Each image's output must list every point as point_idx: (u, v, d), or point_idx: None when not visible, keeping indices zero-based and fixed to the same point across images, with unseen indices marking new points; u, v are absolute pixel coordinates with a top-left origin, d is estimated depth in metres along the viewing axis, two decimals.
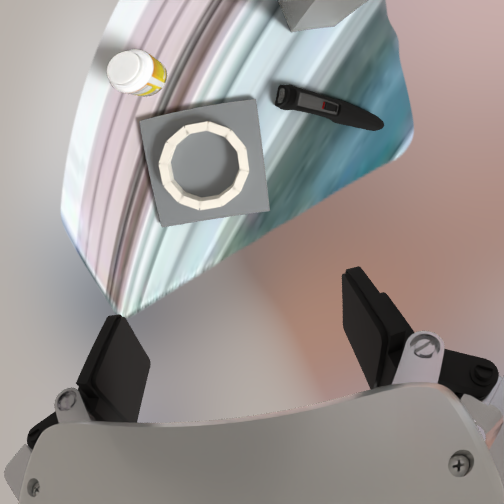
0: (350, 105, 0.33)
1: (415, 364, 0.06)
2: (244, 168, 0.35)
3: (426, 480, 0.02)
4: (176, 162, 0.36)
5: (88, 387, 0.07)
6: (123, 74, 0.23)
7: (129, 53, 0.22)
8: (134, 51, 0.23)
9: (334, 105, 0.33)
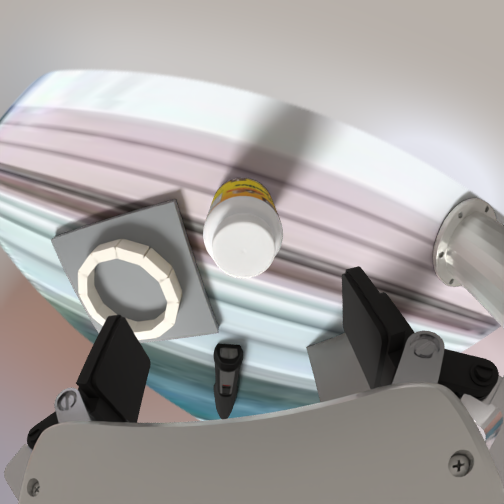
0: (233, 398, 0.37)
1: (415, 364, 0.06)
2: (136, 336, 0.29)
3: (426, 480, 0.02)
4: None
5: (88, 387, 0.07)
6: (229, 254, 0.17)
7: (269, 260, 0.18)
8: (276, 244, 0.19)
9: (228, 392, 0.35)
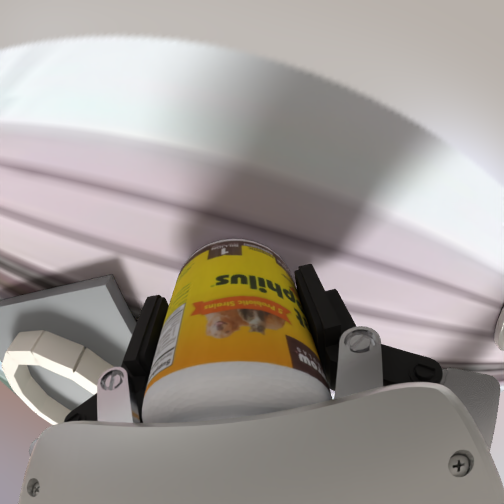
0: None
1: (354, 360, 0.07)
2: None
3: (426, 480, 0.02)
4: None
5: (136, 364, 0.08)
6: None
7: None
8: None
9: None
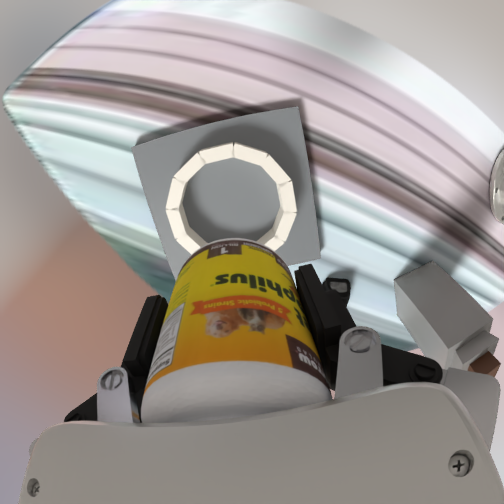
0: None
1: (354, 360, 0.07)
2: None
3: (426, 480, 0.02)
4: (232, 163, 0.25)
5: (136, 364, 0.08)
6: None
7: None
8: None
9: None
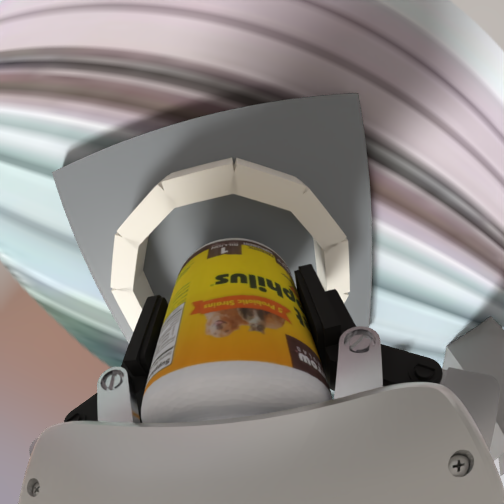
0: None
1: (354, 360, 0.07)
2: None
3: (426, 480, 0.02)
4: (232, 200, 0.13)
5: (136, 364, 0.08)
6: None
7: None
8: None
9: None
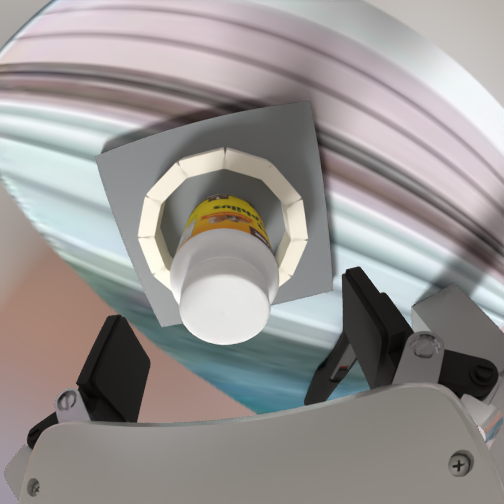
0: None
1: (415, 364, 0.06)
2: None
3: (426, 480, 0.02)
4: (223, 175, 0.19)
5: (88, 387, 0.07)
6: (204, 318, 0.12)
7: (261, 323, 0.12)
8: (271, 294, 0.14)
9: (341, 376, 0.28)
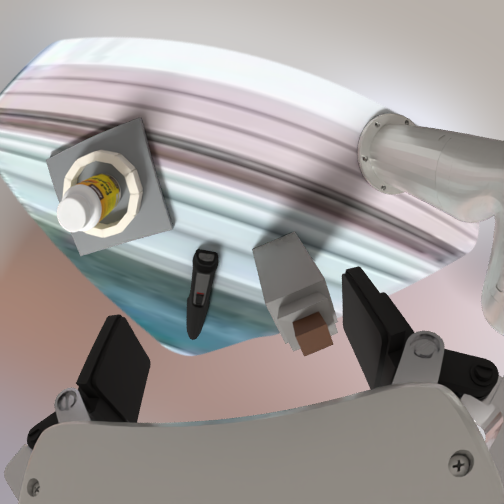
0: (204, 313, 0.44)
1: (415, 364, 0.06)
2: (104, 233, 0.35)
3: (426, 480, 0.02)
4: (101, 164, 0.33)
5: (88, 387, 0.07)
6: (64, 218, 0.25)
7: (83, 219, 0.26)
8: (95, 211, 0.27)
9: (201, 302, 0.42)
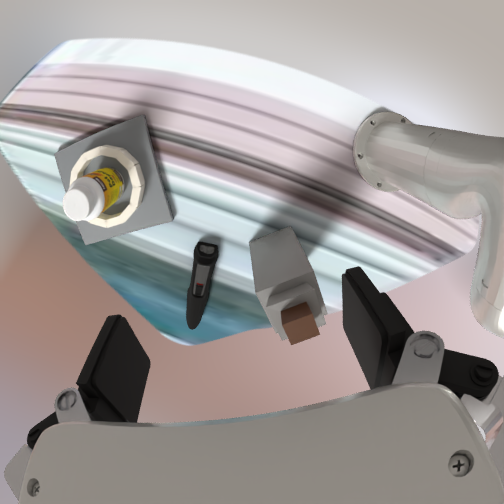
0: (204, 303, 0.46)
1: (415, 364, 0.06)
2: (108, 223, 0.37)
3: (426, 480, 0.02)
4: (106, 158, 0.35)
5: (88, 387, 0.07)
6: (69, 207, 0.27)
7: (87, 209, 0.28)
8: (98, 202, 0.29)
9: (200, 292, 0.44)
